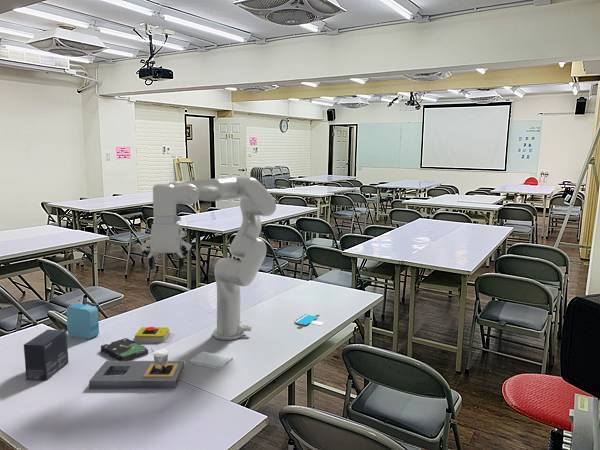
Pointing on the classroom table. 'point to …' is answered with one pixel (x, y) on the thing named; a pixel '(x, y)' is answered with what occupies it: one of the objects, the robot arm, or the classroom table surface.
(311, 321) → the phone stand
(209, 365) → the hard drive
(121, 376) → the grey sorting tray
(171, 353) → the classroom table surface
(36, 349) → the small box
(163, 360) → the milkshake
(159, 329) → the emergency button
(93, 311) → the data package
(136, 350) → the disk drive
